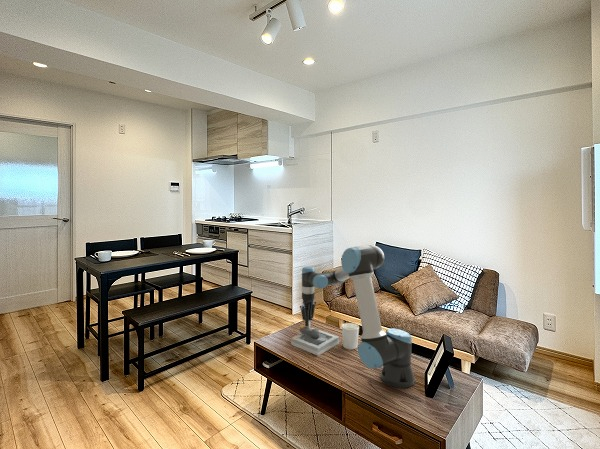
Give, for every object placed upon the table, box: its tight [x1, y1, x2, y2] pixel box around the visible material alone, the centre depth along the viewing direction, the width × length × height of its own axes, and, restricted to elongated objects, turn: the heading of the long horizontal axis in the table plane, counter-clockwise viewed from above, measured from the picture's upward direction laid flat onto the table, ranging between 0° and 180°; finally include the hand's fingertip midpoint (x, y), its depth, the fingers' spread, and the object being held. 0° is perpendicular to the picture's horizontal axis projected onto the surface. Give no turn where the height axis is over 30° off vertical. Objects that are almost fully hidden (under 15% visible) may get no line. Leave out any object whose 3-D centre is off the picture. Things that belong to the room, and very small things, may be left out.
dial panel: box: [290, 327, 340, 356], centre depth 187 cm, size 20×20×4 cm
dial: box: [299, 324, 326, 345], centre depth 188 cm, size 18×13×6 cm
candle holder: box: [341, 322, 360, 350], centre depth 184 cm, size 10×10×12 cm
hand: (308, 330), depth 193 cm, fingers closed
